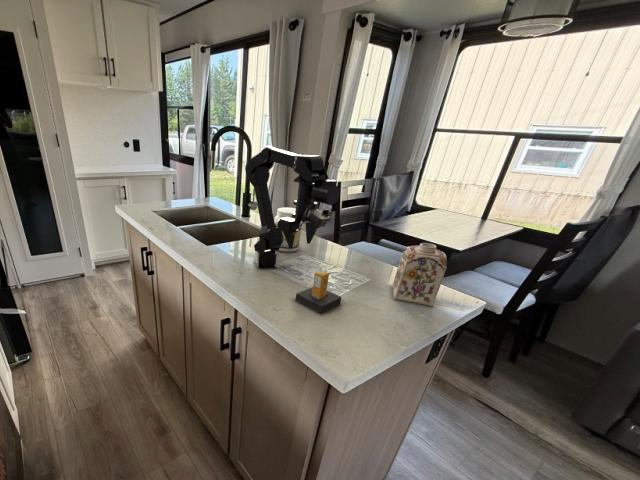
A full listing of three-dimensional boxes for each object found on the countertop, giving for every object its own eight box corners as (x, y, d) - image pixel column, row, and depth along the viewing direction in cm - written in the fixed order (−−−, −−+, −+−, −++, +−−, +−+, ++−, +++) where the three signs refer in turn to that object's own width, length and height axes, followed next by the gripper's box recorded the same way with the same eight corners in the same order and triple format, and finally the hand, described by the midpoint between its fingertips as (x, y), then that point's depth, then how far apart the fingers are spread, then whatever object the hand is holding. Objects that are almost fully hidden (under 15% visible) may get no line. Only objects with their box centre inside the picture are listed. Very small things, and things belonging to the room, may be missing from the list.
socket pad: (295, 300, 103) (296, 293, 102) (315, 292, 109) (316, 285, 108) (320, 313, 97) (321, 306, 96) (340, 304, 103) (341, 297, 102)
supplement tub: (300, 253, 141) (306, 214, 133) (272, 252, 141) (276, 212, 133) (296, 244, 152) (301, 207, 144) (270, 242, 152) (274, 206, 144)
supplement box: (316, 298, 105) (321, 269, 101) (324, 302, 103) (330, 273, 98) (309, 301, 104) (314, 272, 99) (318, 305, 101) (323, 276, 96)
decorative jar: (432, 307, 103) (453, 253, 95) (393, 299, 107) (409, 247, 98) (427, 291, 113) (445, 241, 105) (392, 285, 117) (406, 236, 108)
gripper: (306, 207, 92) (299, 259, 100) (344, 200, 103) (335, 247, 110) (278, 200, 99) (273, 248, 107) (316, 194, 110) (310, 238, 118)
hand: (299, 245), depth 110 cm, fingers open, 9 cm apart
